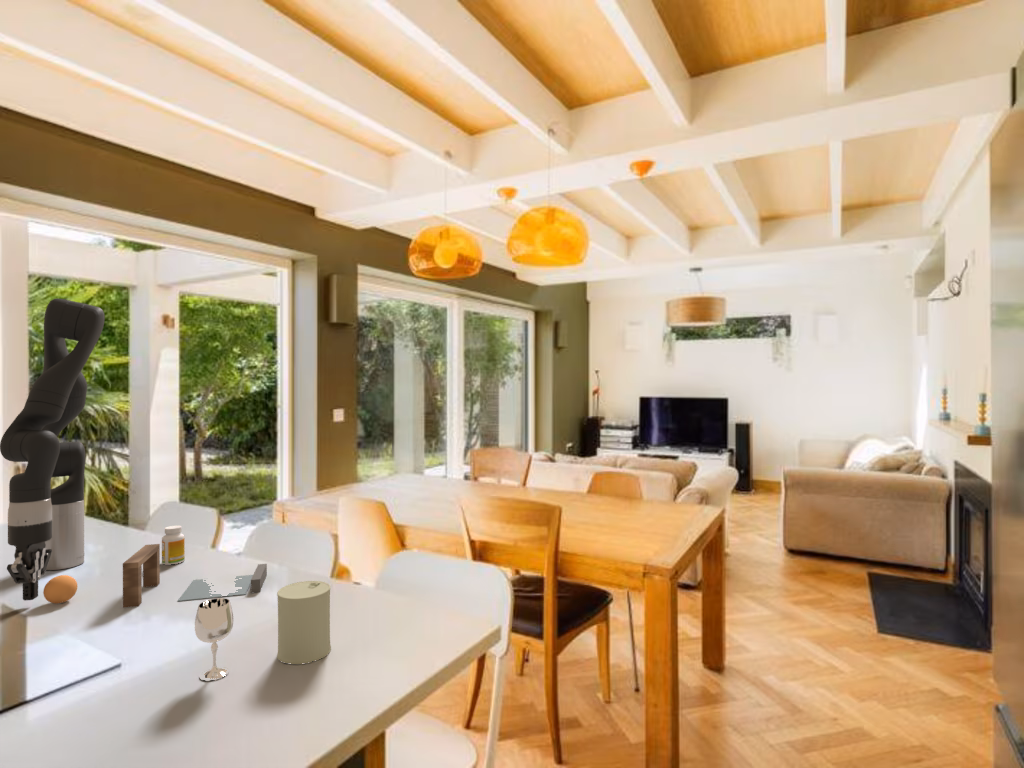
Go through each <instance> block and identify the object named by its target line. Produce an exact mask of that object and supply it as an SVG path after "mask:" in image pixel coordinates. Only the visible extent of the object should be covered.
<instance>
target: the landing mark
mask: <svg viewBox="0 0 1024 768" xmlns="http://www.w3.org/2000/svg"><path fill="white" fill-rule="evenodd" d="M235 576H236V578H235V579H238V580H236V581H234V582H235V583H236V584H235V587H242V589H238V590H236V591H238V592H235V593H229V594H228V595H227V596H228V597H234V596H233V595H239V596H246V595H247V593H248V591H247V590H249V588H250V587H251V579H252V576H253V574H245V575H235ZM239 578H242V579H239ZM204 581H206V580H204ZM211 584H212V583H211ZM208 585H209V584H207V583H206V582H203V578H201V579H193V580H192V581H191V582H190V583H189V585H188V587H186V589H185V591H184V592H183V593H182V594H181V596H180V597H179V598H178V600H177V602H187V601H196V600H205V599H204V598H208V599H214V598H213V597H218V598H222V597H221V596H222V595H221V594H211V593H209V592H212V591H209V590H211V589H210V587H211V586H208ZM212 586H214V585H212ZM214 592H216V591H214ZM246 592H247V593H246ZM210 595H212V596H210Z"/></svg>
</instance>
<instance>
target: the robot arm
mask: <svg viewBox="0 0 1024 768" xmlns="http://www.w3.org/2000/svg"><path fill="white" fill-rule="evenodd" d="M44 311H45V313H44V319H43V349H44V351H43V352H44V354H43V355H44V356H43V369H42V370H43V371H42V373H41V374H40V376H38V377H37V378H36V379H35V381H34V382H33V384H32V387H31V388H30V391H29V393H28V396H27V397H26V400H25V404H24V406H23V409H22V410H21V411H20V412H19V414H17V416H16V417H15V418H14V420H13V421H12V422H11V424H10V425H9V426H8V428H6V430H5V432H4V433H3V435H2V437H1V439H0V454H1V456H2V458H4V459H5V460H6V461H9V462H14V463H27V465H26V467H25V470H24V472H21V473H17V474H14V475H13V476H12V477H10V479H9V483H8V486H9V487H8V488H9V489H8V490H9V491H8V492H9V493H8V495H9V497H8V498H9V499H8V501H9V503H8V509H7V544H8V545H9V546H13V547H15V550H14V554H13V557H14V561H13V563H10V564H8V565H7V566H6V571H8V573H9V575H10V577H11V578H12V579H13V582H15V584H22V600H23V601H33V600H36V599H37V598H38V597H39V580H40V581H41V576H43V575H45V574H46V571H58V570H65V569H70V568H74V567H77V566H80V565H82V564H84V563H85V470H86V469H85V468H86V449H85V445H84V444H83V443H82V442H80V441H65V442H62V441H61V442H60V440H59V437H58V436H59V435H60V433H61V432H62V431H63V430H64V429H65V428H66V427H68V425H69V424H71V423H72V422H73V421H74V420H75V419H76V418H77V417H78V416H79V415H80V414H81V412H83V410H84V408H85V406H86V399H87V393H88V392H87V390H88V382H87V380H86V378H85V375H84V374H83V372H82V370H83V368H84V366H86V363H87V362H88V360H89V358H90V356H91V354H92V353H93V351H94V348H95V347H96V345H97V343H98V341H99V339H100V337H101V335H102V332H103V329H104V325H105V312H104V310H103V309H102V308H101V307H99V306H95V305H92V304H87V303H84V302H79V301H74V300H70V299H64V298H59V297H58V298H57V297H56V298H53V299H52V300H50V301H49V302H48V303H47V306H46V309H45V310H44ZM66 340H70V341H75V342H76V341H77V343H76V345H75V346H74V348H73V349H71V351H70V352H69V350H68V347H67V344H66ZM60 477H68V479H67V480H65V481H64V482H63V483H61V484H60V485H58V486H55V487H53V488H51V487H52V485H51V481H52V478H60Z"/></svg>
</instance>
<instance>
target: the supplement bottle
mask: <svg viewBox="0 0 1024 768" xmlns="http://www.w3.org/2000/svg"><path fill="white" fill-rule="evenodd" d="M182 529H183V528H182V525H170V526H166V527H164V534H165V535H163V536H162V537H161V564H162V565H163V564H165V565H164V566H172V565H171V564H175V565H178V563H179V564H182V563H183V562H184V561H185V560H186V559H185V556H186V555H185V552H186V551H185V549H186V547H185V543H186V542H185V535H184V534H183V533H182ZM181 562H182V563H181Z"/></svg>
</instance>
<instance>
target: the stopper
mask: <svg viewBox="0 0 1024 768" xmlns="http://www.w3.org/2000/svg"><path fill="white" fill-rule="evenodd" d="M267 564H268V563H260V564H257V566H256V568H255V570H254V573H253V574H252V575H253V576H252V579H251V584H250V593H251V594H252V593H253V592H254V593H261V591H262V589H261V588H263V585H264V584H265V580H266V578H267V576H268V575H267V573H268V572H267V569H268V565H267ZM263 583H264V584H263Z"/></svg>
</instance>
